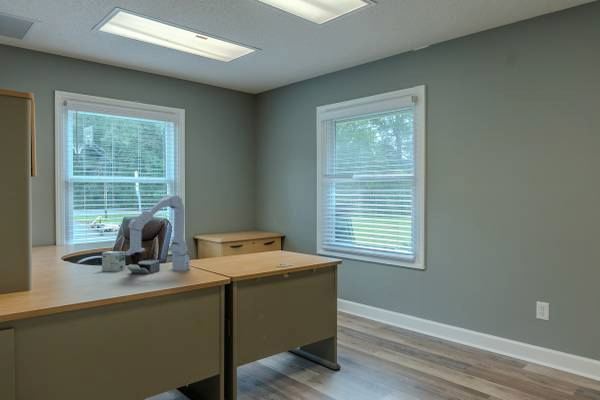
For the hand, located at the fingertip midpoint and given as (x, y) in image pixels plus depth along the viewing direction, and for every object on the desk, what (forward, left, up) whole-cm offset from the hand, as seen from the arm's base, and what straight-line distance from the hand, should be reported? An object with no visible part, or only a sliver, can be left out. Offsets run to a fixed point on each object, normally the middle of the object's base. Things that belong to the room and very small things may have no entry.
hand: (135, 266), depth 228 cm
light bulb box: (+20, -9, -5) cm, 23 cm away
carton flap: (0, -5, -4) cm, 7 cm away
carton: (0, -11, -5) cm, 12 cm away
